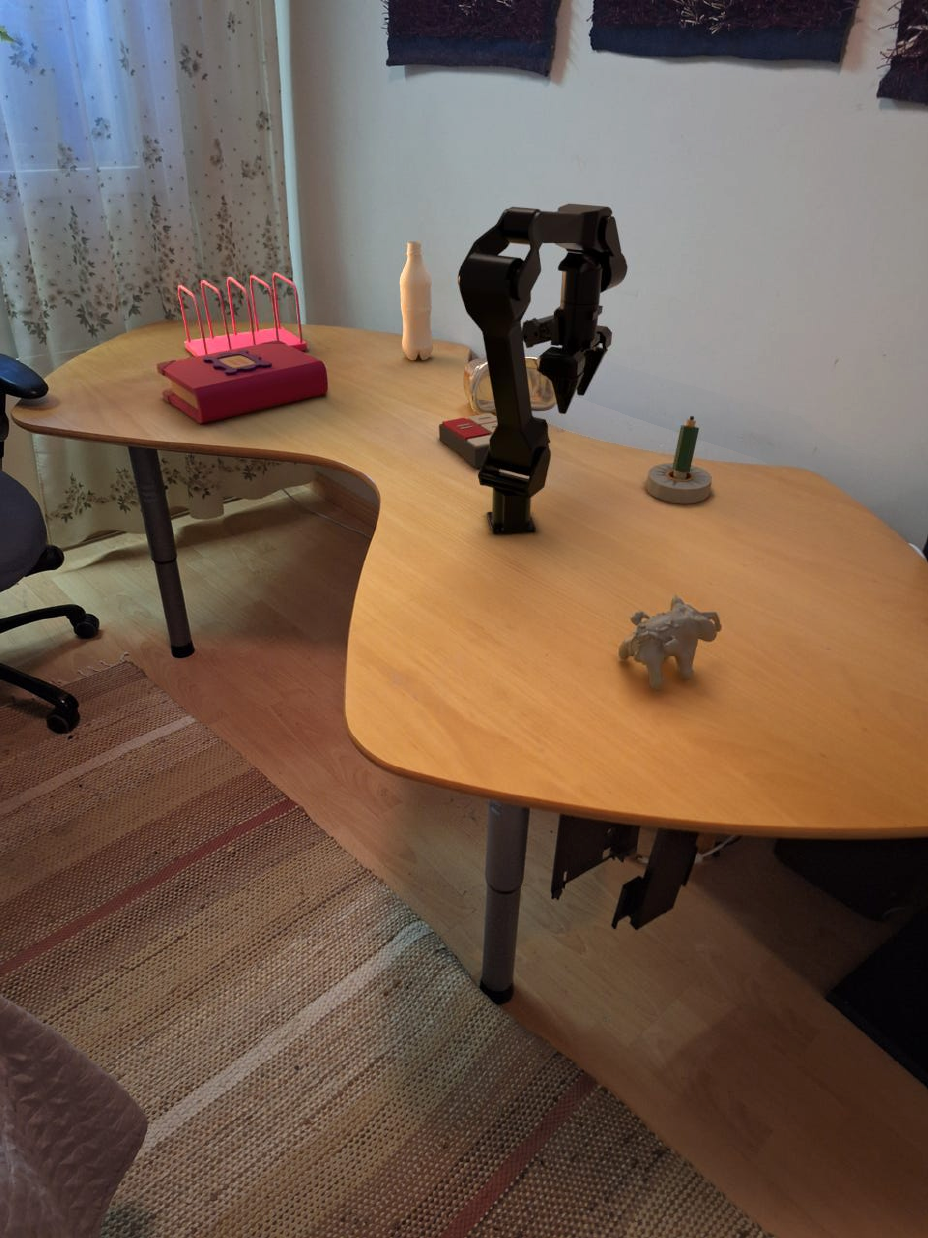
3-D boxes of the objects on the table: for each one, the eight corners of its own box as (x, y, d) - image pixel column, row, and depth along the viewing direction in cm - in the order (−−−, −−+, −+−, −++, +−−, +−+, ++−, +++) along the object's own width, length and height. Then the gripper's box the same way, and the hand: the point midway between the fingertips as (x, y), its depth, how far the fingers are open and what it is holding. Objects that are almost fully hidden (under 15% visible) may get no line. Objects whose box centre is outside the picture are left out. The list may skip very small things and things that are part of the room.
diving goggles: (470, 422, 155) (470, 346, 147) (459, 402, 164) (458, 330, 156) (560, 415, 158) (564, 340, 149) (544, 395, 167) (547, 324, 159)
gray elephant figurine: (603, 667, 92) (610, 612, 88) (664, 625, 99) (674, 572, 94) (671, 705, 86) (682, 648, 82) (731, 659, 93) (744, 604, 89)
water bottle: (398, 355, 190) (393, 240, 176) (426, 351, 193) (423, 238, 179) (409, 363, 185) (404, 246, 171) (438, 359, 188) (435, 243, 173)
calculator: (490, 410, 150) (531, 433, 138) (490, 432, 152) (531, 457, 141) (437, 420, 146) (475, 444, 134) (438, 442, 148) (475, 469, 137)
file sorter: (307, 350, 194) (300, 282, 185) (205, 367, 183) (191, 295, 174) (283, 333, 206) (274, 268, 197) (185, 348, 196) (171, 280, 187)
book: (329, 395, 167) (326, 359, 163) (203, 426, 153) (195, 387, 149) (282, 371, 181) (277, 336, 177) (161, 397, 167) (153, 360, 162)
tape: (718, 501, 127) (721, 486, 125) (657, 505, 126) (660, 490, 124) (695, 475, 135) (698, 460, 133) (638, 478, 134) (640, 464, 132)
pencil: (684, 490, 128) (700, 417, 125) (667, 487, 129) (682, 415, 125) (686, 488, 131) (702, 417, 127) (669, 485, 132) (684, 414, 128)
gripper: (549, 282, 127) (543, 380, 136) (505, 308, 113) (502, 415, 122) (617, 289, 123) (607, 388, 132) (580, 317, 109) (571, 426, 118)
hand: (571, 403), depth 126 cm, fingers open, 9 cm apart
